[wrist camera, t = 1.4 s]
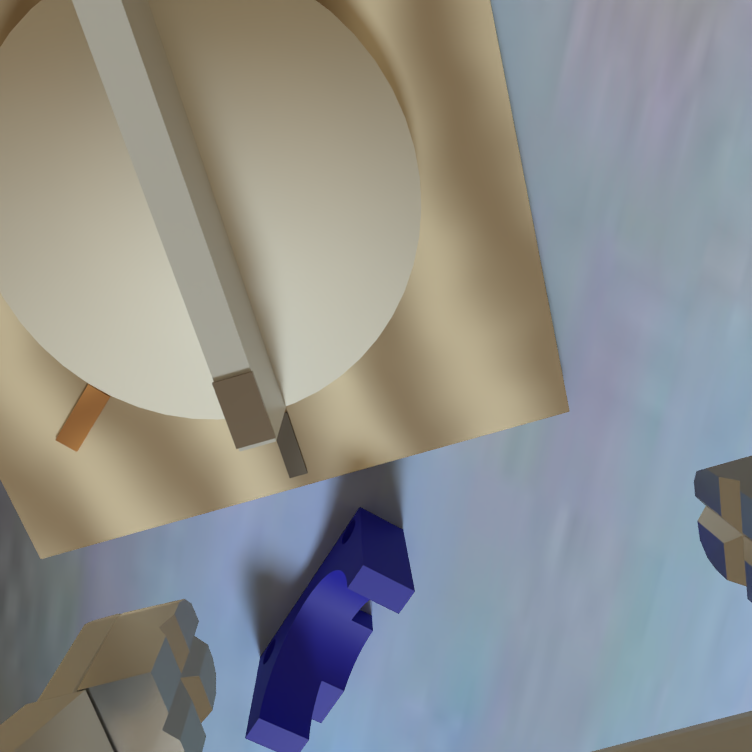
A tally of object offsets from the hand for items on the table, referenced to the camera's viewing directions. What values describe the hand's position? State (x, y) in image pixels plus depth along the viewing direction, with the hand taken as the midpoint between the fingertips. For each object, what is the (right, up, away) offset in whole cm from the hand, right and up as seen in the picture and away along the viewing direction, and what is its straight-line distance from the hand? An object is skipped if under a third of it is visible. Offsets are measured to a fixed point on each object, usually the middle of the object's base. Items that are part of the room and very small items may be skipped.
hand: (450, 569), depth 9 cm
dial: (-9, +11, +18) cm, 23 cm away
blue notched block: (-3, -11, +27) cm, 29 cm away
